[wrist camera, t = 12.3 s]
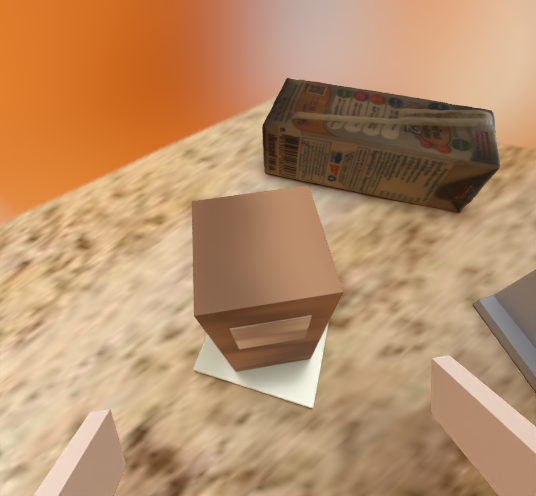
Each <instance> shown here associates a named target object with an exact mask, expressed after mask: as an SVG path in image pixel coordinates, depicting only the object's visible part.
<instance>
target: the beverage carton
mask: <svg viewBox="0 0 536 496" xmlns="http://www.w3.org/2000/svg"><path fill="white" fill-rule="evenodd" d="M263 148H264V166H265V173H269V174H274V175H278V176H283V177H287V178H292V179H297V180H302V181H306V182H311V183H316V184H321V185H326V186H330V187H335V188H341V189H344V190H349V191H354V192H359V193H364V194H369V195H374V196H378V197H383V198H388V199H392V200H397V201H403V202H407V203H412V204H417V205H423V206H429V207H434V208H439V209H444V210H450V211H454V212H460V211H461V210H462V209H463V208H464V207H465V206H466V205H467V204H468V203H470V202H471V201H472V199H473V198H474V197H475V196H476V195H477V194H478V192H479V191H480V190H481V188H482V187H483V186H484V185H485V183H486V182H487V181H488V180H489V179H490V178H491V177H492V176H493V175H494V174H495V173H496V172H497V170H498V169H499V168H500V161H499V154H498V148H497V141H496V131H495V121H494V114H493V112H492V111H490V110H486V109H480V108H472V107H468V106H459V105H452V104H448V103H443V102H437V101H431V100H425V99H420V98H413V97H407V96H401V95H395V94H389V93H382V92H376V91H369V90H363V89H356V88H351V87H343V86H337V85H331V84H325V83H320V82H311V81H305V80H294V79H289V78H287V79H286V81H285V83H284V85H283V87H282V89H281V91H280V92H279V94H278V96H277V98H276V100H275V102H274V104H273V107H272V109H271V111H270V113H269V114H268V116H267V118H266V120H265V122H264V124H263Z"/></svg>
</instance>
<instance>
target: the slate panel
mask: <svg viewBox="0 0 536 496" xmlns="http://www.w3.org/2000/svg"><path fill="white" fill-rule="evenodd" d="M473 305H474V307H475V308H476V310H477V311H478V312H479V314H480V315H481V316H482V318H483V319H484V321H485V322H486V323H487V325H488V326H489V328H490V329H491V330H492V332H493V333H494V334H495V336H496V337H497V339H498V340H499V341H500V343H501V344H502V346H503V347H504V348H505V350H506V351H507V353H508V354H509V355H510V357H511V358H512V359H513V361H514V362H515V364H516V365H517V366H518V368H519V369H520V371H521V372H522V373H523V375H524V376H525V378H526V379H527V380H528V382H529V383H530V384H531V386H532V387H533V389H534V390H535V391H536V270H534V271H533V272H531V273H529V274H528V275H526V276H524V277H523V278H521V279H520V280H518V281H516V282H515V283H513V284H511V285H510V286H508V287H506V288H505V289H503V290H502V291H500V292H498V293H497V294H495V295H493V296H490V297H487V298H484V299H480V300H478V301H477V302H475V303H473Z"/></svg>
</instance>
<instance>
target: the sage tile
mask: <svg viewBox="0 0 536 496" xmlns="http://www.w3.org/2000/svg"><path fill="white" fill-rule="evenodd" d="M328 323H329V322H328ZM327 328H328V324H327V326H326V328H325V330H324V332H323V335H322V337H321V339H320V341H319V343H318V345H317V347H316V349H315V351H314V353H313V355H312V357H311V359H308V360H302V361H296V362H290V363H284V364H279V365H273V366H267V367H261V368H256V369H250V370H244V371H238V372H235V371H234V369H233V368H232V366H231V365H230V364H229V362H228V361H227V360H226V358H225V357H224V356H223V354H222V353H221V352H220V350H219V349H218V348H217V346H216V345H215V343H214V342H213V341H212V339H211V338H210V337H209V335H208V334H207V335H206V338H205V340H204V343H203V345H202V348H201V350H200V353H199V355H198V358H197V360H196V363H195V366H194V368H193V370H194V371H196V372H200V373H203V374H206V375H209V376H212V377H215V378H218V379H221V380H224V381H227V382H231V383H234V384H237V385H240V386H243V387H246V388H249V389H252V390H255V391H259V392H262V393H265V394H268V395H271V396H274V397H277V398H280V399H283V400H286V401H290V402H293V403H296V404H299V405H302V406H305V407H308V408H311V409H312V408H313V406H314V400H315V395H316V389H317V384H318V378H319V372H320V367H321V361H322V356H323V350H324V345H325V339H326V334H327Z"/></svg>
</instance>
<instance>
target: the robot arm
mask: <svg viewBox="0 0 536 496" xmlns="http://www.w3.org/2000/svg"><path fill="white" fill-rule="evenodd" d="M431 414H432V415H433V417H434V418H435V419H436V420H437V422H438V423H439V424H440V425H441V426H442V428H443V429H444V430H445V431H446V433H447V434H448V435H449V436H450V437H451V439H452V440H453V441H454V442H455V444H456V445H457V446H458V447H459V448H460V450H461V451H462V452H463V453H464V454H465V456H466V457H467V458H468V459H469V461H470V462H471V463H472V464H473V465H474V467H475V468H476V469H477V470H478V472H479V473H480V474H481V475H482V476H483V478H484V479H485V480H486V481H487V482H488V484H489V485H490V486H491V487H492V489H493V490H494V491H495V492H496V493H497V495H498V496H536V426H534V425H533V424H532V423H531V422H530V421H528V420H527V419H526V418H525V417H523V416H522V415H521V414H520V413H519V412H517V411H516V410H515V409H514V408H513V407H511V406H510V405H509V404H508V403H507V402H505V401H504V400H503V399H502V398H500V397H499V396H498V395H497V394H496V393H494V392H493V391H492V390H491V389H490V388H488V387H487V386H486V385H485V384H483V383H482V382H481V381H480V380H479V379H477V378H476V377H475V376H474V375H473V374H471V373H470V372H469V371H468V370H466V369H465V368H464V367H463V366H462V365H460V364H459V363H458V362H457V361H456V360H454V359H453V358H452V357H451V356H450V355H447V356H441V357H435V358H432V367H431ZM125 467H126V463H125V460H124V456H123V452H122V449H121V445H120V442H119V438H118V435H117V431H116V428H115V424H114V421H113V417H112V413H111V410H110V409H107V410H101V411H95V412H90V413H89V415H88V416H87V418H86V419H85V421H84V422H83V424H82V425H81V427H80V428H79V429H78V431H77V432H76V434H75V435H74V437H73V438H72V440H71V441H70V443H69V444H68V446H67V447H66V448H65V450H64V451H63V453H62V454H61V456H60V457H59V459H58V460H57V462H56V463H55V465H54V466H53V468H52V469H51V470H50V472H49V473H48V475H47V476H46V478H45V479H44V481H43V482H42V484H41V485H40V487H39V488H38V489H37V491H36V492H35V494H34V495H33V496H113V495H114V493H115V491H116V488H117V486H118V484H119V481H120V479H121V476H122V474H123V472H124V469H125Z"/></svg>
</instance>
